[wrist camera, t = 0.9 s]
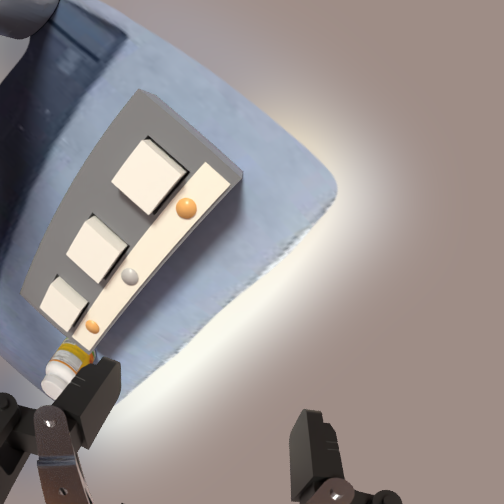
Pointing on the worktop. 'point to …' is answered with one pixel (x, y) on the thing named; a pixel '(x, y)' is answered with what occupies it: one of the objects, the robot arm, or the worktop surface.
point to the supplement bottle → (64, 367)
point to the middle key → (96, 248)
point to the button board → (128, 215)
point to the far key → (63, 303)
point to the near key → (149, 175)
